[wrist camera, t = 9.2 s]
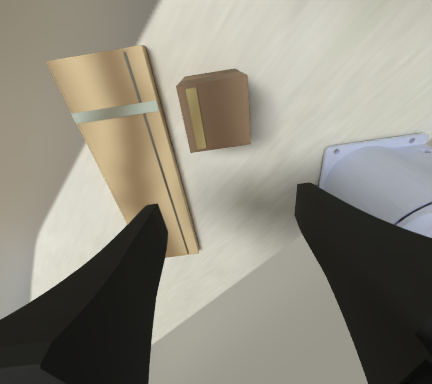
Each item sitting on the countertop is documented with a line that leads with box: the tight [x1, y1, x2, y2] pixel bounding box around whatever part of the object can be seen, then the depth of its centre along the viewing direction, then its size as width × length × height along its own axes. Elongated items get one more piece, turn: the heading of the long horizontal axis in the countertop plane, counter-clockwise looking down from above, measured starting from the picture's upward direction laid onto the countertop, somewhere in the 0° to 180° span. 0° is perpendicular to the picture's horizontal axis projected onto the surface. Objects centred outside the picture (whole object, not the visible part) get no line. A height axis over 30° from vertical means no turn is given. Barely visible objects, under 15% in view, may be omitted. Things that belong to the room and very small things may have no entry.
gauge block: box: [176, 69, 251, 153], centre depth 15 cm, size 4×4×6 cm
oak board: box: [46, 45, 199, 258], centre depth 21 cm, size 7×22×1 cm, turn 8°
